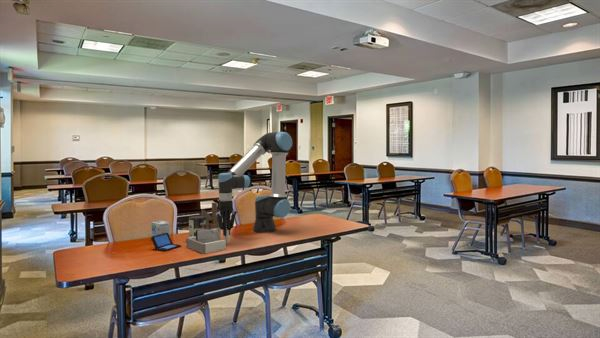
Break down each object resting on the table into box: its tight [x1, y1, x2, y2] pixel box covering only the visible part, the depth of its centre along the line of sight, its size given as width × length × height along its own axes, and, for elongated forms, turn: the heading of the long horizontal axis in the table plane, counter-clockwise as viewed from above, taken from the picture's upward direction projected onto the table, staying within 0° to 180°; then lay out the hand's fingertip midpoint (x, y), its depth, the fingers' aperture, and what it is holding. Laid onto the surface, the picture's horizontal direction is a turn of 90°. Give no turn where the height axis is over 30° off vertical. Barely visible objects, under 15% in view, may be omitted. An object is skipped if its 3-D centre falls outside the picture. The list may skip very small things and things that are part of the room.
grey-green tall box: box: [188, 214, 206, 238], centre depth 232 cm, size 10×10×14 cm
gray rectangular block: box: [196, 227, 222, 243], centre depth 214 cm, size 14×5×10 cm, turn 114°
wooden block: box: [201, 201, 220, 229], centre depth 263 cm, size 4×11×18 cm, turn 130°
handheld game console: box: [150, 233, 182, 252], centre depth 214 cm, size 12×11×7 cm
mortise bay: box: [185, 236, 227, 255], centre depth 213 cm, size 14×20×5 cm
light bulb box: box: [151, 220, 171, 237], centre depth 235 cm, size 11×7×11 cm, turn 47°
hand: (226, 241), depth 221 cm, fingers closed
